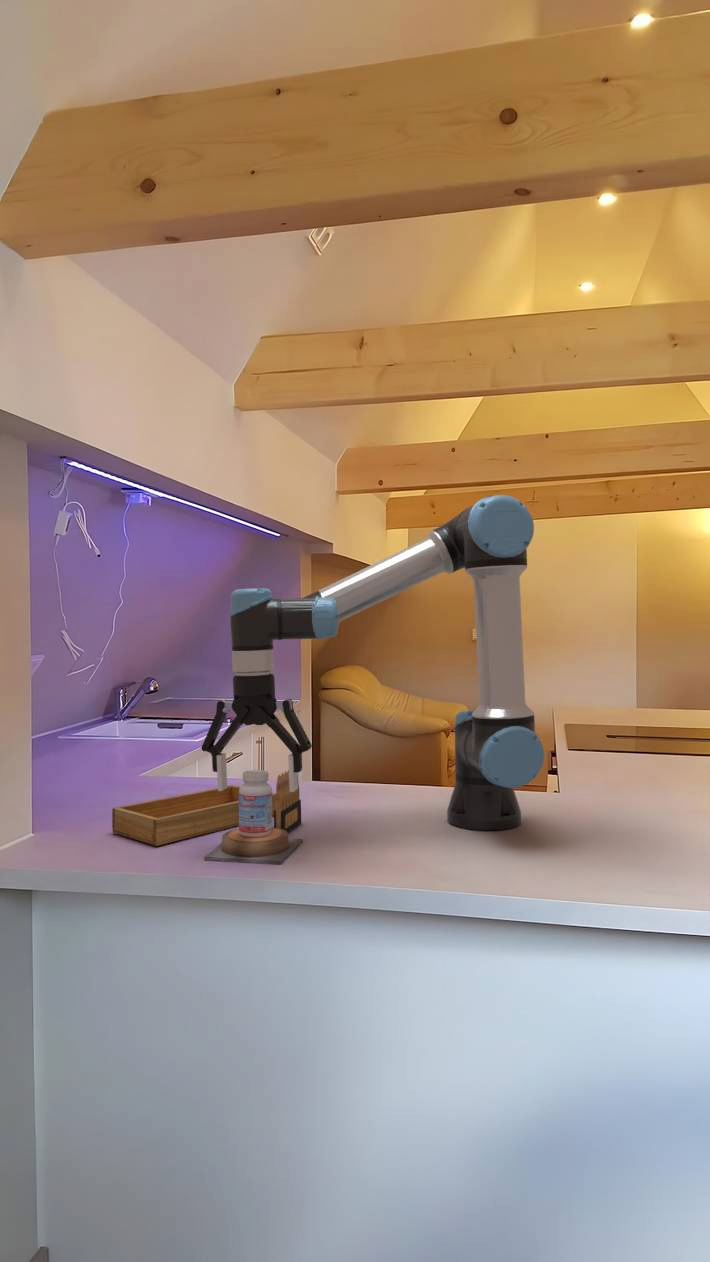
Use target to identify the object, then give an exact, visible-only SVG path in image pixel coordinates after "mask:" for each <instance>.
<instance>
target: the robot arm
mask: <svg viewBox="0 0 710 1262" xmlns="http://www.w3.org/2000/svg"><path fill="white" fill-rule="evenodd" d="M534 531H535V524H534V519H533V516H532V514H531V512H530V510H529V509H528V508H527V506H526V505H524V503H523V502H522V501H520V500H519V499H517V498H515V497H513V496H510V495H505V494H496V495H492V496H486V497H484V498H481V499H480V500H478V501H477V502H476V503H475V504H473V505H471V506H468V507H466V508H465V509H463V510H462V511H461V512H460V513H458V514H457V515H456V516H454V517H453V518H452V519H450V520H448V521H447V522H445V523H444V524H443V525H440V526H439V527H437V528H435V529H433V530H431V531H429V534H428V535H427V538H425V539H423V540H421V541H418V542H417V543H414V544H412V545H410V546H408V547H406V548H404V549H402V550H400V551H397V552H396V553H394V554H392V555H390V556H387V557H385V558H383V559H382V560H379V561H377V562H374V563H373V564H370V565H369V566H366V567H365V568H362V569H361V570H360V569H359V571H358V570H357V571H356V572H354V573H352V574H349V575H348V576H346V577H343V578H342V579H340V580H337V581H335V582H333V583H331V584H329V585H327V586H325V587H323V588H320V589H318V590H317V591H315V592H313V593H309V594H308V595H305V596H304V597H300V598H283V599H282V598H273V595H272V591H271V589H269V588H265V587H264V588H263V587H261V588H256V587H255V588H241V589H240V588H238V589H235V590H234V591H232V592H231V594H230V614H229V615H230V633H231V634H230V635H231V638H230V639H231V657H232V658H231V660H232V661H231V663H232V672H233V673H235V675H234V676H233V677H232V687H233V688H232V689H233V690H232V692H233V700H232V701H228V700H226V699H222V700H219V701H217V702H216V711H215V712H216V713H215V716H214V718H213V720H212V722H211V725H210V726H209V729H208V731H207V733H206V736H205V737H204V741H203V743H202V745H201V750H202V751H203V752H207V753H209V754H210V755H211V763H212V766H211V767H212V771H213V773H216V775H217V778H216V779H217V788H218V791H223V790H225V789H226V788H227V786H228V778H227V777H228V775H227V774H228V771H227V752H223V750H224V748H225V747H226V746H227V744H228V743H229V742H230V741H231V740H232V738H233V737H234V736H235V734H236V733H237V732H238V731H239V729H240V728H241V727H242V726H243V725H245V726H253V725H256V726H263V725H267V726H268V727H269V728H271V730H272V731H273V732H274V734H275V735H277V737H278V738H279V740H281V742H282V743H283V745H285V746H286V747H287V749H288V750H289V751H290V754H288V757H287V758H288V760H287V761H288V770H289V789H290V792H294V791H295V790H297V789H298V783H299V779H298V780H297V772H298V773H300V772H302V769H303V753H305V752H308V751H309V750H311V749H312V743H311V740H310V739H309V736H308V735H307V733H306V732H305V730H304V727H303V726H302V723H301V722H300V719H299V718H298V716H297V714H296V713H295V710H294V709H295V708H294V701H293V700H292V699H291V698H288V699H287V698H286V699H285V700H277V699H276V684H275V683H276V681H275V675H274V673H272V672H273V671H274V670H275V661H274V660H275V658H274V657H275V656H274V651H275V650H274V641H275V640H277V641H282V640H315V639H318V640H323V639H330V638H335V637H336V636H337V635H338V632H339V622H341V621H344V620H345V619H346V620H347V619H348V618H350V617H352V616H354V615H355V614H359V613H360V612H363V611H366V609H368V608H371V607H373V606H375V605H378V604H379V603H381V602H383V601H386V600H387V599H390V598H391V597H394V596H396V595H398V594H400V593H402V592H405V591H406V590H409V589H410V588H413V587H415V586H416V585H419V584H421V583H423V582H425V581H428V580H429V579H431V578H433V577H435V576H437V575H440V574H442V573H446V574H449V575H451V574H453V573H455V572H457V571H459V570H462V569H464V572H465V573H466V574H468V575H469V577H471V578H472V580H473V595H474V597H473V598H474V599H473V600H474V615H475V618H474V619H475V637H476V639H475V640H476V641H475V642H476V661H477V680H478V697H479V698H478V703H479V705H478V706H477V708H476V709H475V710H466V711H465V710H462V711H459V712H457V713H456V715H455V717H454V718H455V719H454V726H453V728H454V759H455V760H454V761H455V762H454V763H455V764H454V765H455V769H454V771H455V776H454V777H455V778H454V779H455V780H454V782H455V783H454V787H453V791H452V794H451V797H450V800H449V802H448V806H447V811H446V814H447V815H446V817H447V819H446V820H447V822H448V823H449V824H451V825H453V826H456V827H459V828H463V829H469V830H476V831H477V830H478V831H500V830H501V831H502V830H509V829H513V828H516V827H519V826H520V825H522V810H521V808H520V805H519V802H518V798H517V795H516V792H515V789H516V788H521V787H524V786H526V785H527V784H529V783H531V782H532V781H534V779H535V778H536V777H537V776H538V775H539V774H540V772H541V771H542V768H543V766H544V761H545V749H544V745H543V743H542V740H541V739H540V736H538V734H537V733H536V723H535V712H534V710H532V708H530V707H529V706H528V705H527V703H526V690H525V689H526V688H525V665H524V646H523V642H524V641H523V624H522V623H523V622H522V621H523V620H522V602H521V580H520V577H521V575H522V574H523V573H524V572H525V570H527V569H528V551H527V550H528V549H527V548H528V547H529V545H530V544H531V543H532V540H533V536H534V533H535V532H534ZM231 709H232V710H233V712H234V713H235V715H236V716H235V717H234V718H233V719H232V721H231V722H230V725H229V726H228V727H227V729H225V731H224V732H223V734H222V735H221V736H220V738H219V739H218V740H217V738H218V735H219V734H220V731H221V729H222V727H223V723H224V722H225V719H226V717H227V714H228V713H229V712H230V711H231ZM277 709H279V711H281V713H283V715H284V718H285V719H286V722H287V724H288V725H289V727H290V729H291V731H292V733H293V735H292V734H291V733H290V732H289V731H288V730H287V728H286V727H285V726H284V725H283V724H282V723H281V722H280V719H279V718H278V717H277V715H275V712H276V711H277ZM293 736H295V738H294V737H293ZM216 740H217V741H216ZM215 742H216V743H215Z"/></svg>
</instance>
